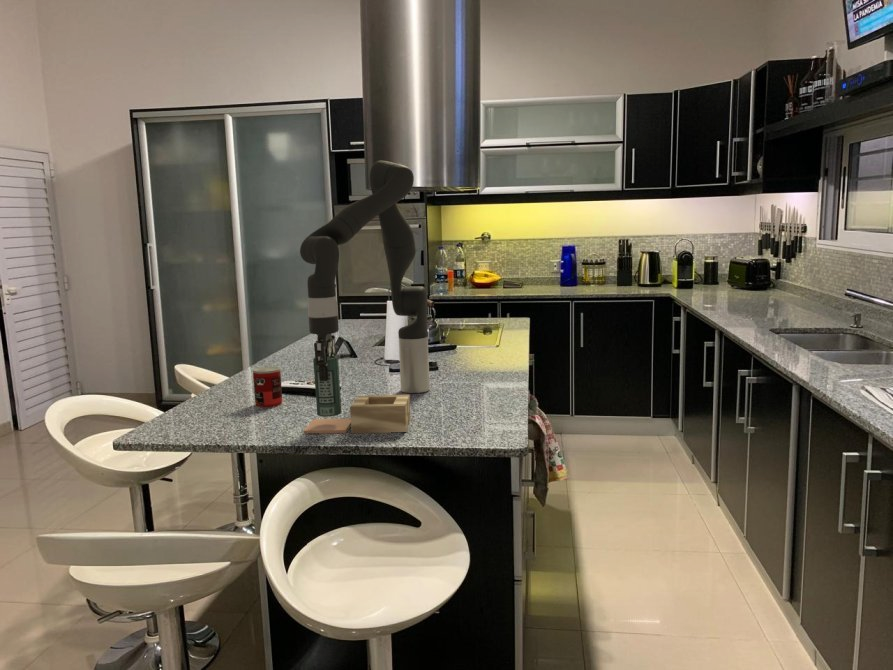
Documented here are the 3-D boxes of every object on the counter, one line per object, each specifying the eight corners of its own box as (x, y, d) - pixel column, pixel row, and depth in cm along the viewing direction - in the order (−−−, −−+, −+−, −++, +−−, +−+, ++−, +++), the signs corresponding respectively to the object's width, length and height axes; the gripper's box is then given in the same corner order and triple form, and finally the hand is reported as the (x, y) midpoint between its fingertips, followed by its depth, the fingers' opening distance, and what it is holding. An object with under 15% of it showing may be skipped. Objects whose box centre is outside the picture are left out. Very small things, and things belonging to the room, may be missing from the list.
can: (343, 410, 189) (339, 355, 187) (338, 416, 183) (334, 359, 181) (320, 411, 189) (316, 356, 187) (315, 417, 183) (311, 360, 181)
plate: (313, 422, 192) (313, 419, 192) (353, 421, 192) (353, 418, 192) (303, 433, 182) (303, 430, 181) (345, 433, 181) (345, 430, 181)
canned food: (254, 403, 216) (251, 368, 214) (280, 400, 219) (278, 365, 217) (256, 409, 209) (254, 372, 207) (284, 405, 212) (281, 369, 210)
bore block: (359, 420, 192) (358, 395, 191) (410, 419, 192) (409, 394, 190) (351, 433, 180) (349, 406, 179) (406, 432, 180) (404, 405, 179)
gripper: (331, 317, 175) (335, 383, 177) (342, 310, 189) (346, 372, 192) (301, 318, 175) (306, 384, 178) (315, 311, 190) (318, 372, 192)
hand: (326, 377), depth 185 cm, fingers closed on can, 6 cm apart
